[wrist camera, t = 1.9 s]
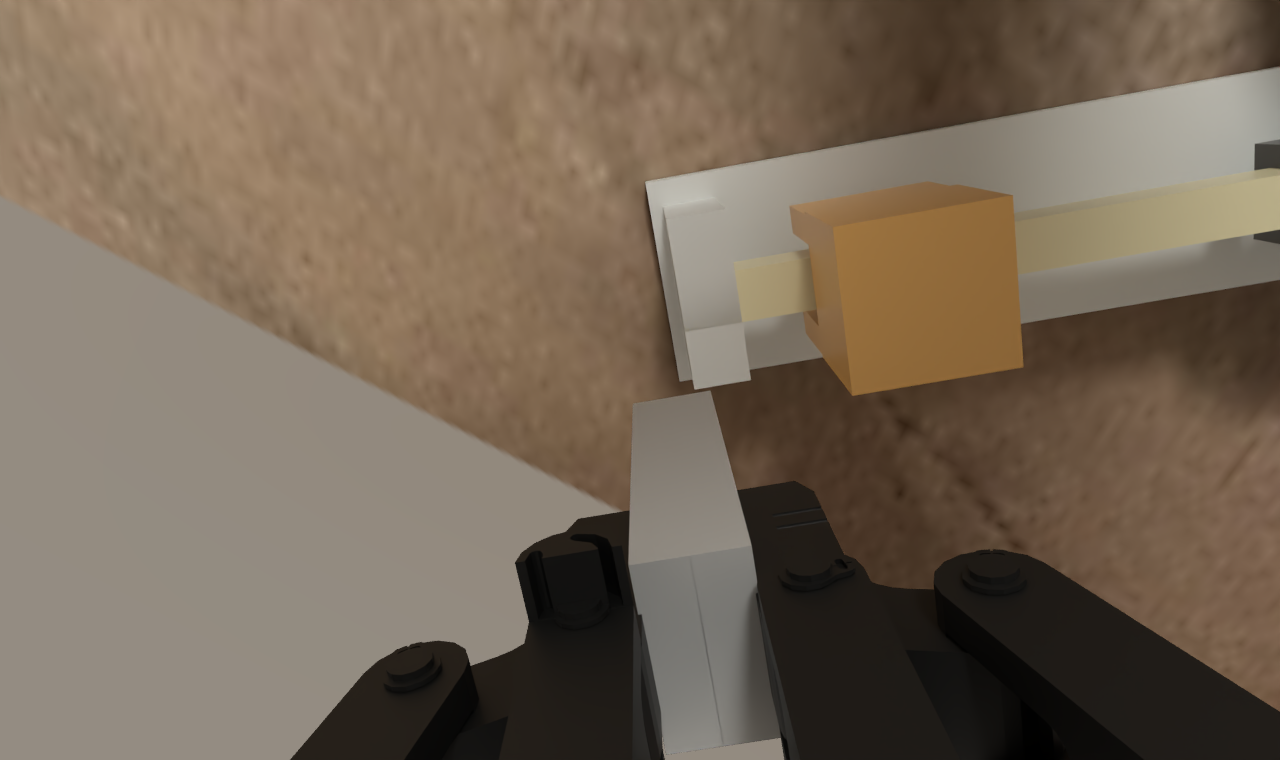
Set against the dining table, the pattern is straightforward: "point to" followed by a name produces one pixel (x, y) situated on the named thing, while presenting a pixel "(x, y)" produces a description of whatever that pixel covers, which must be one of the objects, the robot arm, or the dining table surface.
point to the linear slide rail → (1043, 212)
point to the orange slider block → (913, 284)
